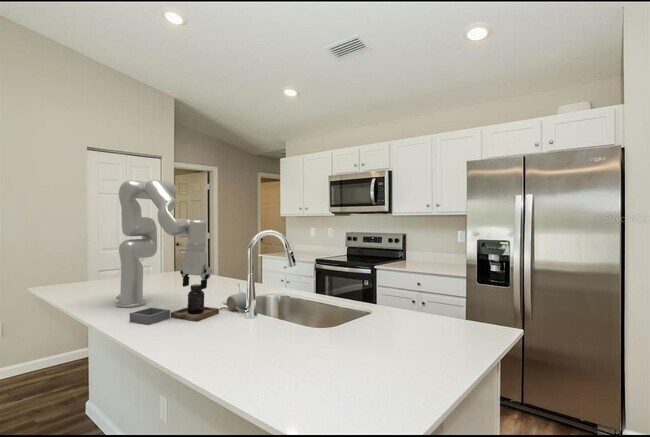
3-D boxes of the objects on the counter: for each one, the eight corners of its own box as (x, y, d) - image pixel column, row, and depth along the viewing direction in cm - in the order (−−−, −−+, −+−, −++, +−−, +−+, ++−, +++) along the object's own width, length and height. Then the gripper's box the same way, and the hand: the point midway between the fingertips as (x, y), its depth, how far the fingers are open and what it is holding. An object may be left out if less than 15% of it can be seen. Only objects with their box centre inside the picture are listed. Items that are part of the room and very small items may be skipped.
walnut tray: (170, 317, 151) (170, 312, 151) (193, 310, 164) (193, 305, 164) (197, 321, 146) (197, 316, 146) (218, 313, 159) (218, 308, 159)
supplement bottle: (183, 313, 153) (184, 285, 153) (195, 309, 159) (196, 283, 159) (196, 315, 150) (196, 287, 150) (207, 311, 156) (208, 284, 156)
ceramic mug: (225, 309, 165) (225, 293, 165) (239, 306, 171) (240, 290, 171) (238, 314, 158) (239, 297, 158) (253, 311, 164) (254, 294, 164)
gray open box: (129, 321, 144) (129, 313, 144) (150, 315, 154) (150, 307, 154) (149, 324, 140) (149, 316, 140) (169, 318, 150) (170, 309, 150)
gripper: (174, 247, 154) (172, 286, 155) (206, 250, 148) (204, 291, 148) (186, 246, 161) (185, 283, 162) (218, 249, 155) (216, 288, 155)
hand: (194, 287), depth 155 cm, fingers open, 9 cm apart
